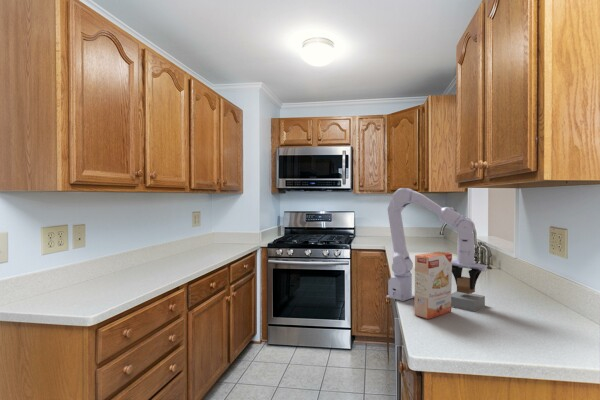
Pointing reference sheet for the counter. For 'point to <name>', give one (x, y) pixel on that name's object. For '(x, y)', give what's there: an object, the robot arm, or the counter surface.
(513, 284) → the counter surface
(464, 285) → the walnut block
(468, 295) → the slate block
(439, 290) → the cracker box
